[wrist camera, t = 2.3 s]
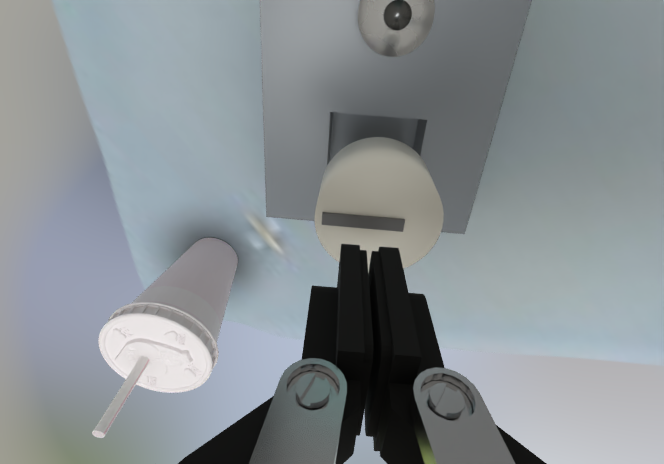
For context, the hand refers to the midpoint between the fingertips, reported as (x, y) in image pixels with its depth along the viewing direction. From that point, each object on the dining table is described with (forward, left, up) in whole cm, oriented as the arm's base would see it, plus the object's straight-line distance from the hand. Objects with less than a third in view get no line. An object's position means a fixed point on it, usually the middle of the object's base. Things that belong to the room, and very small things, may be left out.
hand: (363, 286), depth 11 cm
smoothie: (+10, +10, -15) cm, 20 cm away
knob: (-1, 0, -9) cm, 9 cm away
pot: (-1, -7, -11) cm, 13 cm away
